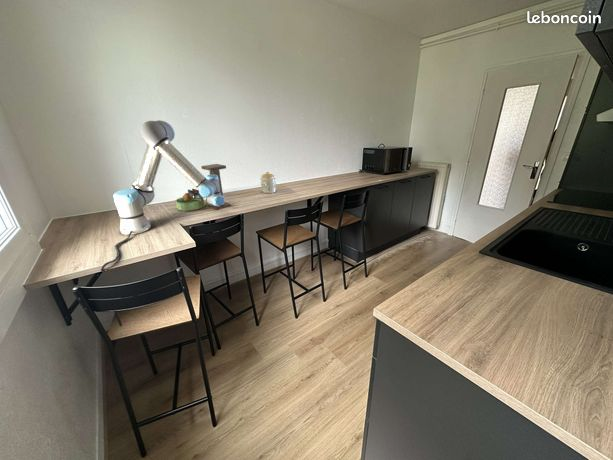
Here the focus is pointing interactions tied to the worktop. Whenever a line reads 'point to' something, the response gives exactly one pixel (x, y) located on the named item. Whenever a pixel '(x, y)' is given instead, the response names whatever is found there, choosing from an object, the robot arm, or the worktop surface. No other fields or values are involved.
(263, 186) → the jar
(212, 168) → the stand
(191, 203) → the bowl
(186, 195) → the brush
